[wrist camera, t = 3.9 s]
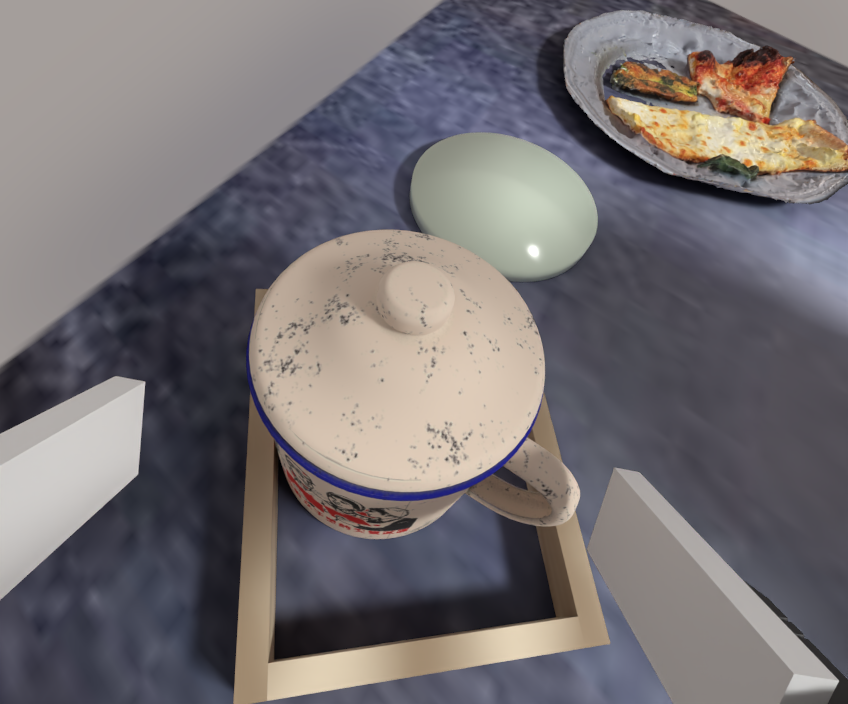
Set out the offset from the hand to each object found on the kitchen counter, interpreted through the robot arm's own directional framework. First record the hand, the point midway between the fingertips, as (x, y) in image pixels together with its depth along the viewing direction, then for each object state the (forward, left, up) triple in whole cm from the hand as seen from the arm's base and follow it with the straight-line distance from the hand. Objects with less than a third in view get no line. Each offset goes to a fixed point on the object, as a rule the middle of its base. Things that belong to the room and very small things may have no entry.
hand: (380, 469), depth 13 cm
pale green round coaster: (-10, -19, -8) cm, 23 cm away
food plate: (-30, -31, -8) cm, 44 cm away
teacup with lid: (-2, -3, -8) cm, 9 cm away
